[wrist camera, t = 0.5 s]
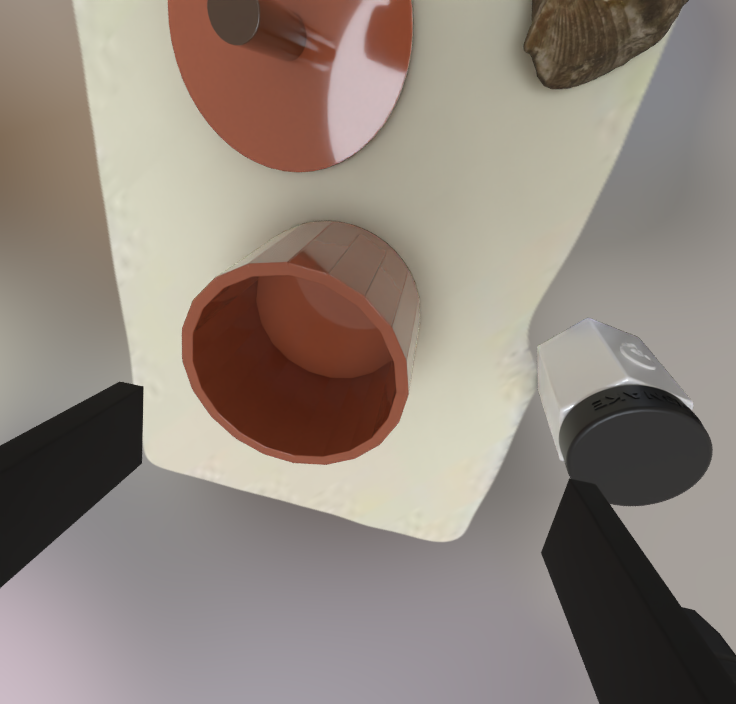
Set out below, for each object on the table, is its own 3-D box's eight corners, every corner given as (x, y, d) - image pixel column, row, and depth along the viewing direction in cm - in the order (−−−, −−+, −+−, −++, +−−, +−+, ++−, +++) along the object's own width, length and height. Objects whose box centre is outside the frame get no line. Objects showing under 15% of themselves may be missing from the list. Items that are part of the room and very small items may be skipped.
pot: (379, 189, 33) (346, 222, 23) (444, 357, 39) (441, 441, 29) (219, 259, 38) (136, 310, 28) (299, 397, 44) (254, 479, 34)
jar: (665, 344, 35) (756, 441, 24) (605, 416, 39) (660, 525, 28) (563, 304, 34) (610, 384, 24) (513, 380, 39) (536, 478, 28)
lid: (350, -213, 23) (298, -380, 15) (448, 111, 29) (446, 109, 22) (131, -36, 28) (10, -93, 21) (253, 203, 35) (196, 229, 27)
